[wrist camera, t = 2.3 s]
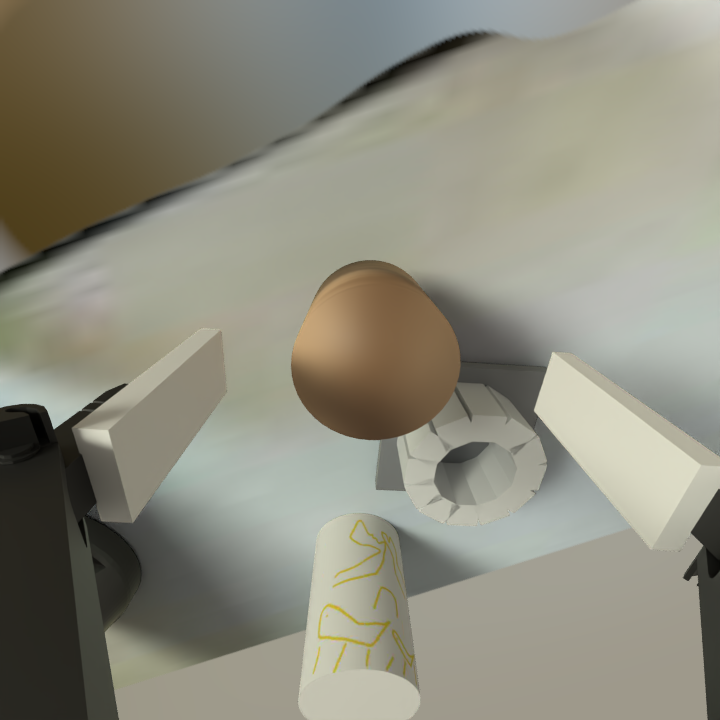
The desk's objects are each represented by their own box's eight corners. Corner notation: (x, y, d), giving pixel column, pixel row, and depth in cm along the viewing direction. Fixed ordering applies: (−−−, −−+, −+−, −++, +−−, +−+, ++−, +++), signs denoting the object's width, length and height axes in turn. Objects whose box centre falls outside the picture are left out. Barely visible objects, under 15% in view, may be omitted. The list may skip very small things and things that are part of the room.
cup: (412, 524, 33) (440, 681, 22) (382, 578, 36) (394, 740, 25) (330, 504, 32) (317, 659, 21) (306, 562, 35) (284, 723, 24)
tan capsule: (316, 346, 26) (291, 436, 16) (318, 248, 23) (290, 279, 13) (410, 352, 26) (445, 443, 16) (423, 255, 23) (476, 292, 13)
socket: (375, 481, 31) (379, 534, 26) (389, 357, 26) (397, 393, 21) (507, 487, 31) (536, 540, 26) (545, 366, 27) (589, 403, 22)
